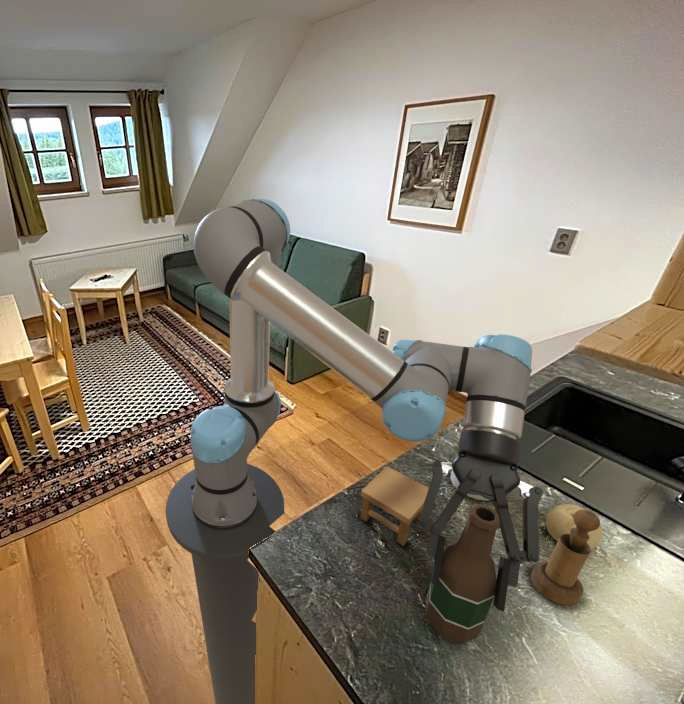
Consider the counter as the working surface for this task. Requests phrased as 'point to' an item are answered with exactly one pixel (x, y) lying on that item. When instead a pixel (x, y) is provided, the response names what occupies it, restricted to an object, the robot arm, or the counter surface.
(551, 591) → the mortar and pestle
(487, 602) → the beer bottle
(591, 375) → the counter surface
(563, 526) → the onion
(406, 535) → the stool
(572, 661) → the counter surface
